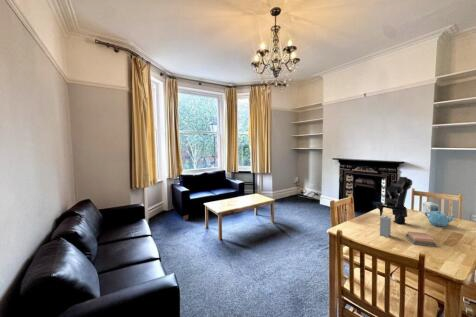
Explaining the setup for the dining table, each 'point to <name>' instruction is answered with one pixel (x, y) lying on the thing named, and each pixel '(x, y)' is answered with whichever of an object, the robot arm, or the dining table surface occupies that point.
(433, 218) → the teapot
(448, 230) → the dining table surface
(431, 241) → the pinkish brown square block
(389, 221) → the column brick
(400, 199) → the robot arm
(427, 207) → the light bulb box
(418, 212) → the dining table surface
